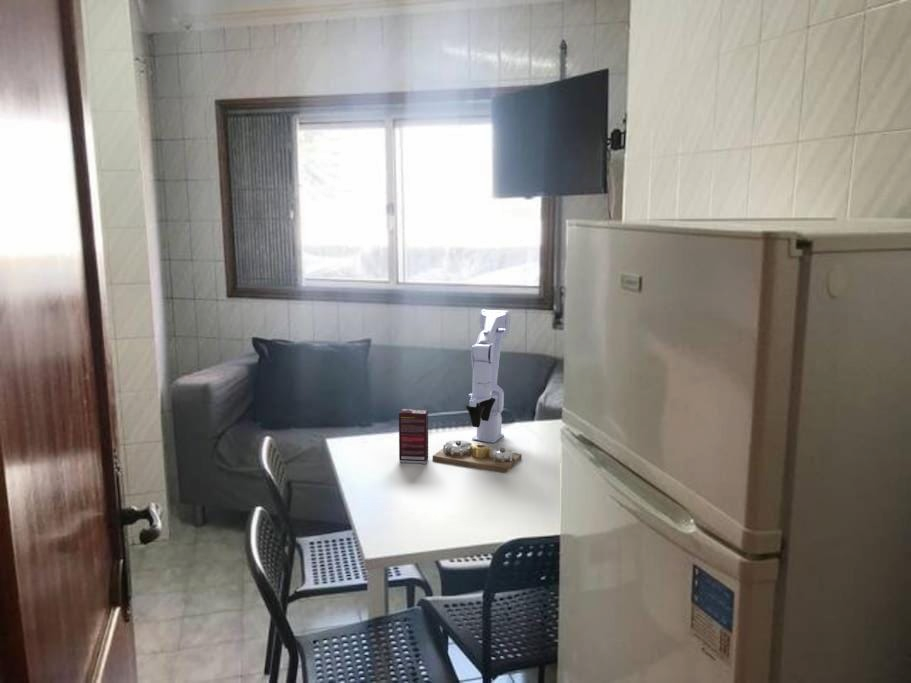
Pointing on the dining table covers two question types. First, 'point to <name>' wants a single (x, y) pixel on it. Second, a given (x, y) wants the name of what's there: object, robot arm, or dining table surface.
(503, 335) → the robot arm
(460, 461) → the gear board
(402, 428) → the supplement box
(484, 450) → the brass gear
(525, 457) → the dining table surface
